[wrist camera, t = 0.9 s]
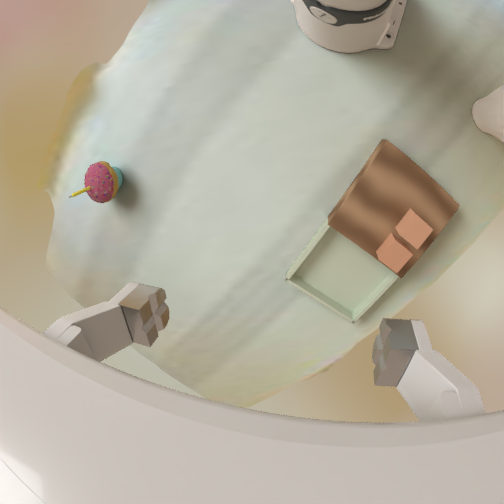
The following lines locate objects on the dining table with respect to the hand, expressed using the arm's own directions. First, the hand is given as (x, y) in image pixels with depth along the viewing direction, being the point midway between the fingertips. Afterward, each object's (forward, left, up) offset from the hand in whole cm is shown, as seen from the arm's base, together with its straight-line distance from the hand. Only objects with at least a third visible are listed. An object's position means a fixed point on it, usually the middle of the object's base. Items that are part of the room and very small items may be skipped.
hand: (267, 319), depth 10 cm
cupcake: (+22, -33, -38) cm, 55 cm away
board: (-2, +15, -38) cm, 40 cm away
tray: (+12, +15, -38) cm, 42 cm away
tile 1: (+3, +18, -34) cm, 38 cm away
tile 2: (-2, +18, -34) cm, 38 cm away
